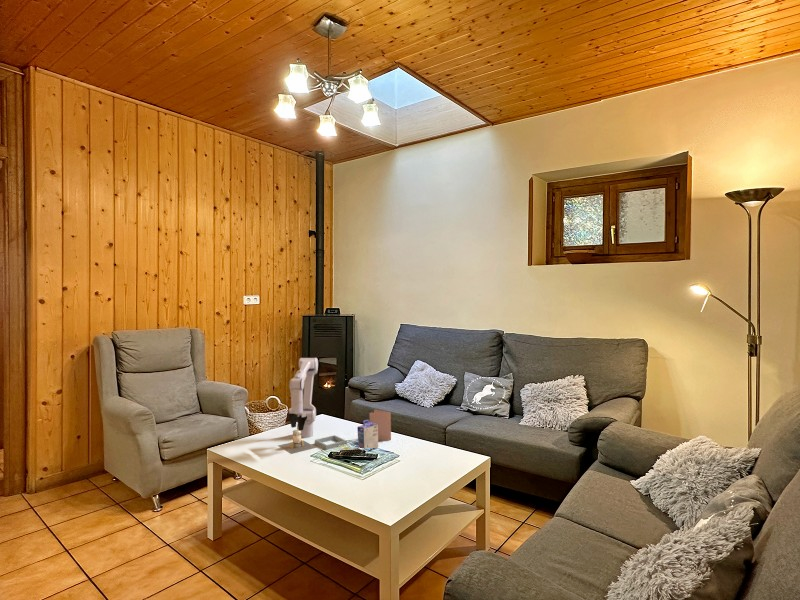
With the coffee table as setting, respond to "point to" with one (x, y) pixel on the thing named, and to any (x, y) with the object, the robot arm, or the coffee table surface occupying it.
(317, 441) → the parts tray
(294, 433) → the led light bulb
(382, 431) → the greeting card
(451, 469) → the coffee table surface
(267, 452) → the coffee table surface
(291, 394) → the robot arm
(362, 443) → the ink cartridge box
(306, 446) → the flat gray square panel
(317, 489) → the coffee table surface
